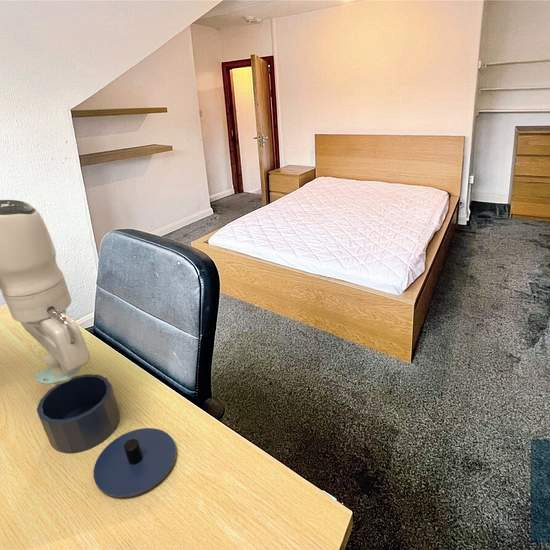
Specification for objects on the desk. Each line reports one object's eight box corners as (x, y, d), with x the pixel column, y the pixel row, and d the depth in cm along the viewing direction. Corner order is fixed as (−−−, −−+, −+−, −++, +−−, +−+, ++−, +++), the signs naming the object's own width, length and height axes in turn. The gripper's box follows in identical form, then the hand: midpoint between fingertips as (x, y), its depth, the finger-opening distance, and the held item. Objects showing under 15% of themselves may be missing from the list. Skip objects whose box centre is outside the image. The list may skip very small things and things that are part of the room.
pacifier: (45, 373, 76) (37, 392, 70) (34, 344, 73) (25, 362, 68) (86, 363, 77) (82, 382, 72) (77, 335, 75) (72, 352, 70)
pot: (42, 461, 72) (28, 430, 69) (57, 410, 83) (46, 382, 80) (117, 443, 75) (107, 412, 71) (122, 396, 86) (113, 368, 82)
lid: (89, 510, 63) (81, 490, 61) (100, 442, 75) (93, 424, 73) (178, 486, 66) (173, 467, 64) (175, 424, 78) (170, 406, 76)
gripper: (87, 310, 62) (109, 381, 68) (36, 276, 75) (58, 338, 81) (44, 329, 58) (71, 403, 64) (-2, 289, 71) (24, 354, 77)
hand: (64, 366), depth 73 cm, fingers closed on pacifier
